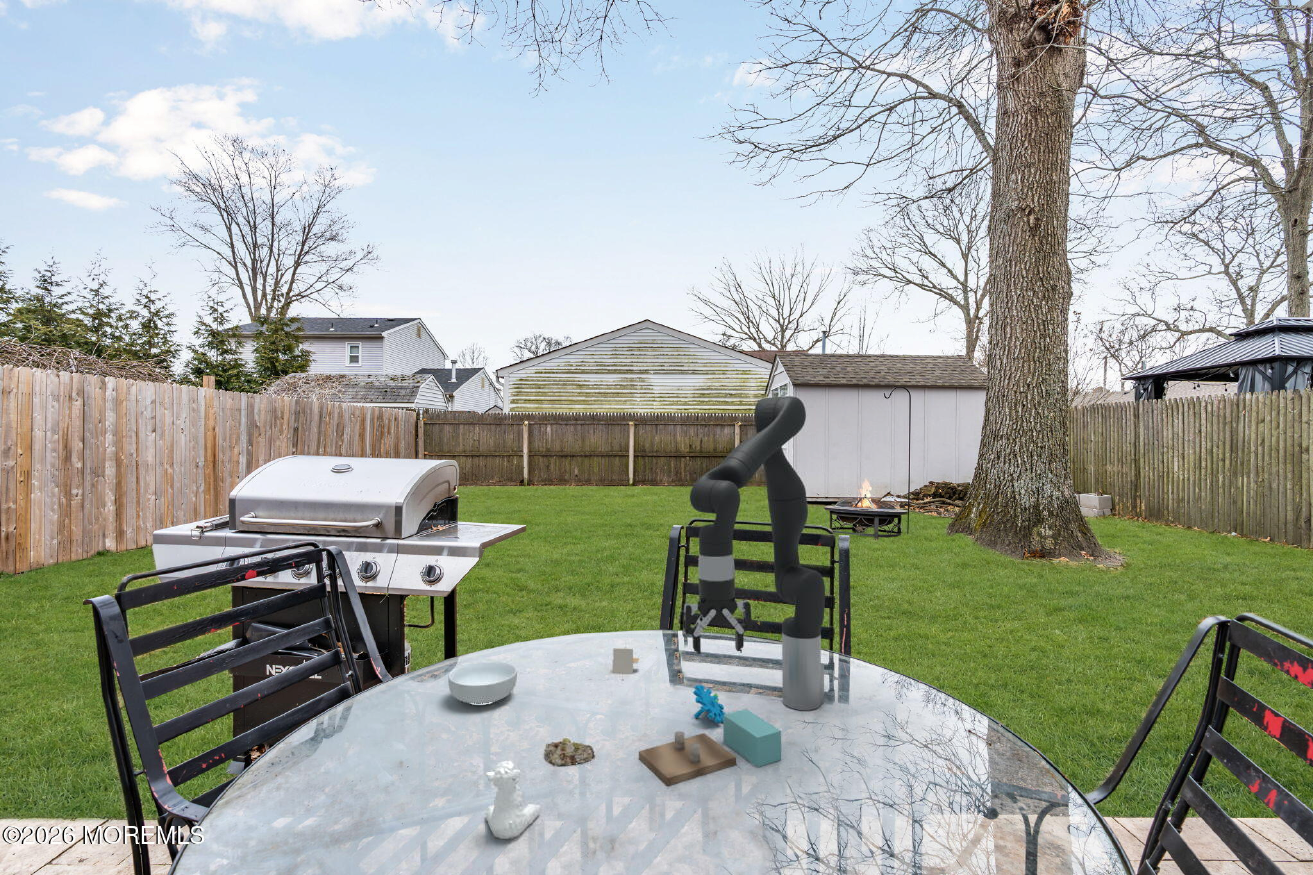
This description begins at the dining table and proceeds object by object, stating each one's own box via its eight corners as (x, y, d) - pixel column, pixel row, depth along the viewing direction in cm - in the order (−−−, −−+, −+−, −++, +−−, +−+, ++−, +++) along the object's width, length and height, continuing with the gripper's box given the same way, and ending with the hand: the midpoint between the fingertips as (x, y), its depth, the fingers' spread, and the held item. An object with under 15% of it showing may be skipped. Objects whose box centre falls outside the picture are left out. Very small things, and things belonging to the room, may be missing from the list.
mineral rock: (537, 756, 135) (549, 728, 143) (538, 773, 136) (550, 745, 144) (589, 761, 134) (598, 732, 141) (590, 779, 135) (599, 749, 143)
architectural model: (614, 670, 188) (614, 644, 188) (639, 671, 187) (639, 644, 187) (612, 675, 185) (612, 648, 184) (637, 676, 184) (637, 649, 184)
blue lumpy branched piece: (720, 725, 149) (691, 687, 152) (701, 741, 150) (673, 703, 154) (734, 712, 159) (707, 677, 163) (716, 727, 160) (690, 692, 164)
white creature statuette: (541, 813, 119) (540, 746, 119) (534, 843, 111) (533, 771, 110) (487, 814, 119) (486, 747, 119) (476, 845, 110) (475, 773, 110)
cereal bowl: (508, 714, 159) (507, 685, 159) (439, 714, 160) (438, 685, 160) (524, 686, 176) (523, 659, 176) (461, 686, 177) (460, 659, 177)
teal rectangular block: (745, 735, 147) (745, 708, 147) (781, 759, 137) (781, 730, 137) (723, 742, 145) (723, 714, 144) (757, 767, 134) (757, 737, 134)
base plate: (704, 739, 146) (703, 719, 146) (736, 764, 135) (736, 742, 135) (638, 758, 138) (638, 736, 138) (667, 785, 127) (667, 762, 127)
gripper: (745, 569, 145) (746, 643, 145) (680, 572, 143) (682, 647, 144) (754, 577, 137) (755, 655, 138) (685, 581, 136) (687, 660, 136)
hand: (718, 651), depth 141 cm, fingers open, 8 cm apart
